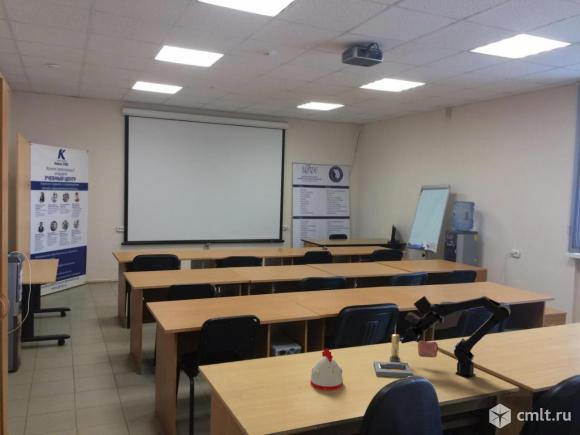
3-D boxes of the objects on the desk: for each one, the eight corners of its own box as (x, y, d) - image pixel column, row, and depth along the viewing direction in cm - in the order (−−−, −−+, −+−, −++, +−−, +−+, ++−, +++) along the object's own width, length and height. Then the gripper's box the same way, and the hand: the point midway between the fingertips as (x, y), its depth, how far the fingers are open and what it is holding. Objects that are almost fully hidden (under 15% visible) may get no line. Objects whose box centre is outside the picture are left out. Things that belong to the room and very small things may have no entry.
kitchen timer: (319, 392, 186) (320, 356, 185) (305, 380, 198) (305, 346, 198) (348, 387, 191) (349, 352, 191) (333, 375, 204) (333, 342, 203)
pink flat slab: (418, 342, 257) (418, 339, 257) (436, 344, 254) (436, 341, 254) (416, 357, 232) (416, 353, 232) (437, 359, 229) (437, 356, 229)
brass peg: (402, 361, 223) (402, 335, 223) (395, 363, 220) (395, 337, 220) (394, 358, 227) (395, 333, 227) (387, 360, 224) (388, 334, 224)
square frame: (407, 367, 216) (407, 362, 216) (412, 377, 203) (412, 372, 203) (373, 365, 217) (373, 361, 217) (376, 375, 204) (376, 371, 204)
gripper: (421, 304, 226) (398, 322, 232) (411, 311, 210) (387, 331, 216) (436, 322, 222) (413, 340, 228) (427, 331, 206) (403, 350, 212)
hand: (404, 340), depth 221 cm, fingers open, 9 cm apart
